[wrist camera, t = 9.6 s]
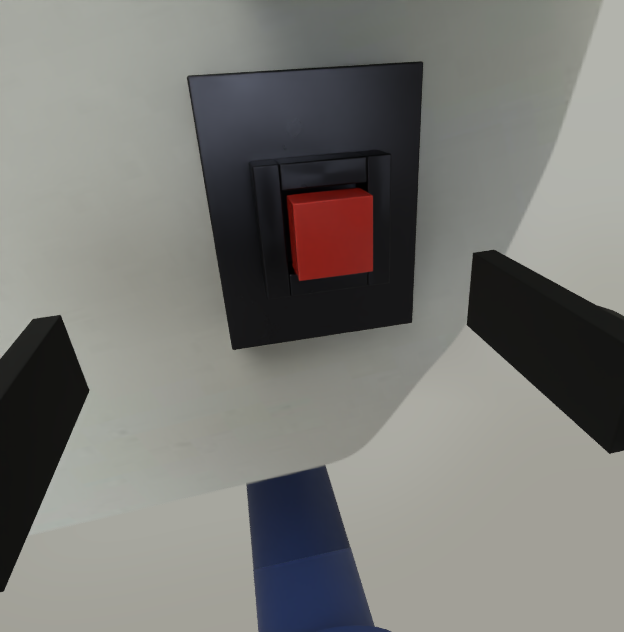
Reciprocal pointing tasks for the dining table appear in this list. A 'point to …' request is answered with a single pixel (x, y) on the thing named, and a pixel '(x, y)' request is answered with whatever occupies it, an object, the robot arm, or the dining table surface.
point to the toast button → (331, 233)
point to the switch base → (304, 177)
